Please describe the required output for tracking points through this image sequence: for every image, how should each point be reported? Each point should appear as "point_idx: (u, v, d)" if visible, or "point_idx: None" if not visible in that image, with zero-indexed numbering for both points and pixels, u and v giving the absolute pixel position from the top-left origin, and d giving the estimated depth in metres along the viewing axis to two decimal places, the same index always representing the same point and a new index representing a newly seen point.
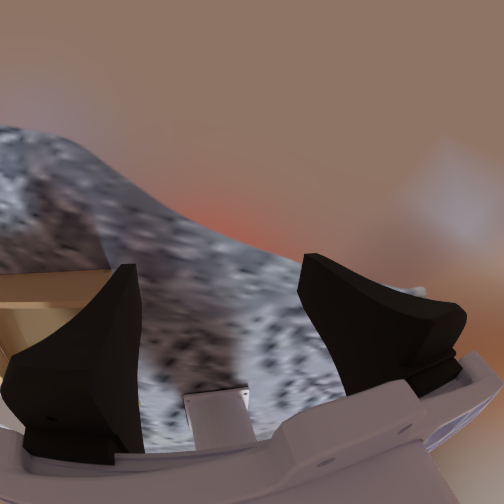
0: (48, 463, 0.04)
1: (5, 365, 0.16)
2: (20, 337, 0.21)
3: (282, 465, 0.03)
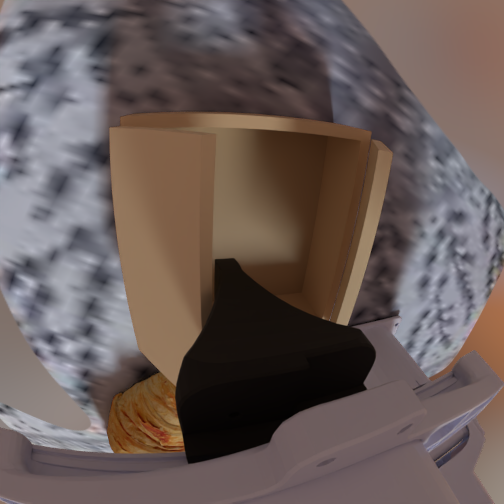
0: None
1: None
2: None
3: (282, 465, 0.03)
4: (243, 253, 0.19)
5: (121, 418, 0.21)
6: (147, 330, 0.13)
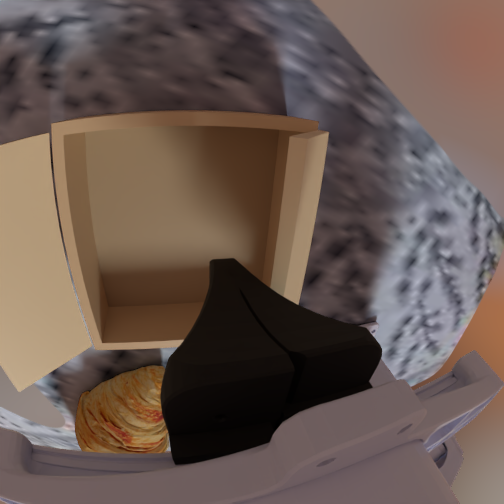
0: None
1: (22, 250, 0.10)
2: (91, 233, 0.15)
3: (282, 465, 0.03)
4: (192, 256, 0.18)
5: (86, 416, 0.20)
6: None
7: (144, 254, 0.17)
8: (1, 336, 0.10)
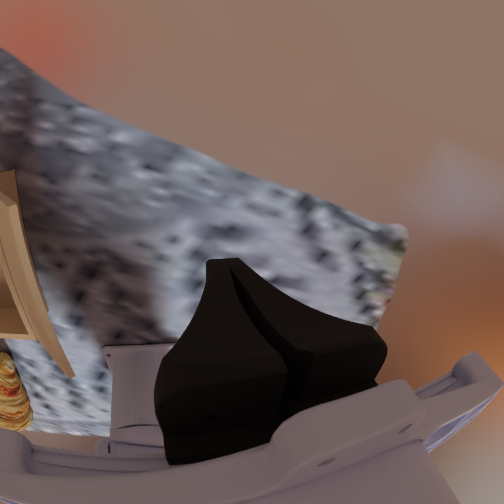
0: None
1: None
2: None
3: (282, 465, 0.03)
4: None
5: None
6: None
7: None
8: None
